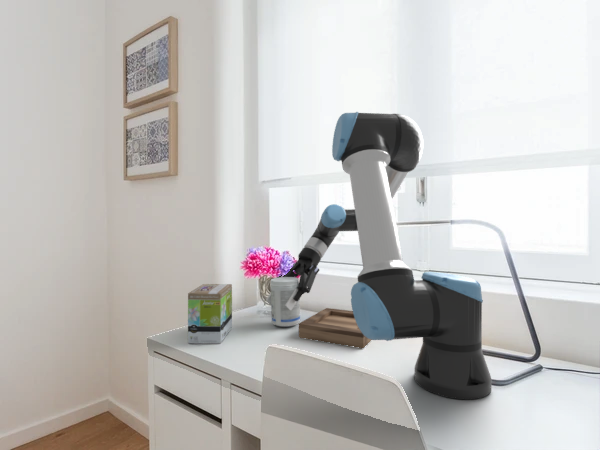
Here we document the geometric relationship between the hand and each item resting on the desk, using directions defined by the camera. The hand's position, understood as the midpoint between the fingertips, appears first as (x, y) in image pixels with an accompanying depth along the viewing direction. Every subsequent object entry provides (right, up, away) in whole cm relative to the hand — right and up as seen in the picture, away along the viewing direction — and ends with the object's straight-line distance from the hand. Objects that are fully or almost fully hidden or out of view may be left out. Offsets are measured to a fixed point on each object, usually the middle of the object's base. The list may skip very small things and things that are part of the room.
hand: (277, 305), depth 117 cm
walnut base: (+20, -7, -7) cm, 23 cm away
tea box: (-20, -8, -7) cm, 23 cm away
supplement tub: (+2, -7, +2) cm, 7 cm away
